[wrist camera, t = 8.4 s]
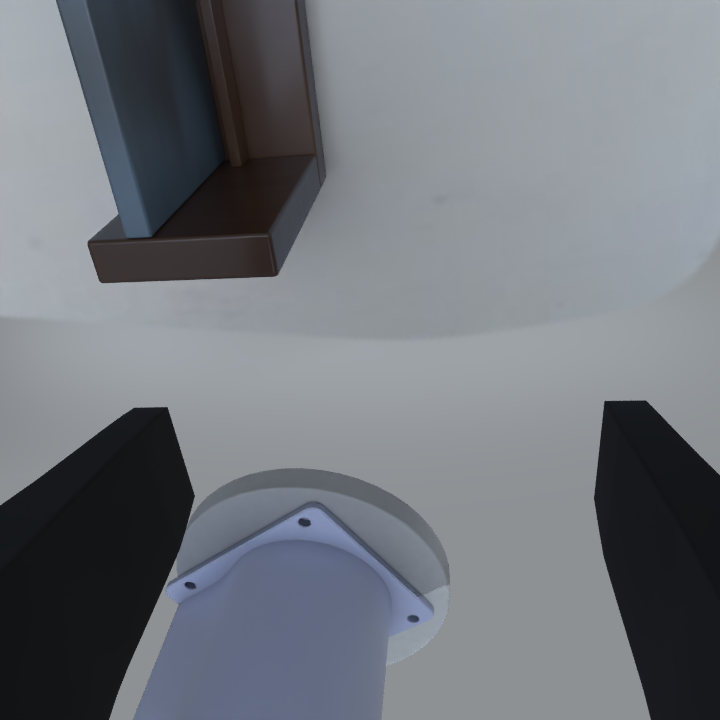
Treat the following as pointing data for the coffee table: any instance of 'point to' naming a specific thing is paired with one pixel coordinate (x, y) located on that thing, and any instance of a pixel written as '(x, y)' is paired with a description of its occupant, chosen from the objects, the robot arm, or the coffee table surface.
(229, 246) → the window frame
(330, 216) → the coffee table surface
